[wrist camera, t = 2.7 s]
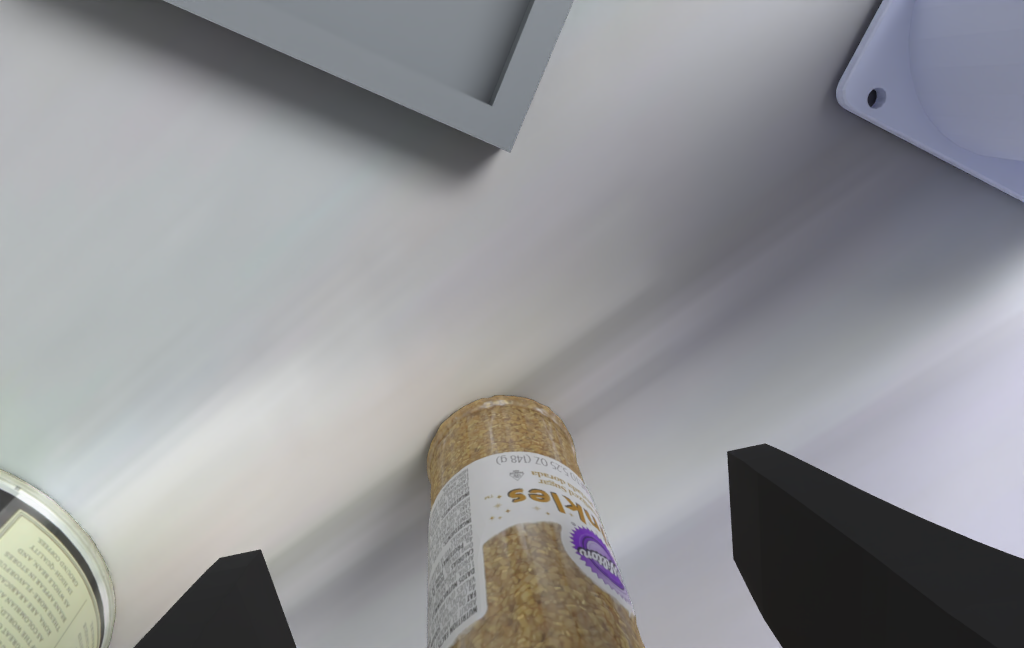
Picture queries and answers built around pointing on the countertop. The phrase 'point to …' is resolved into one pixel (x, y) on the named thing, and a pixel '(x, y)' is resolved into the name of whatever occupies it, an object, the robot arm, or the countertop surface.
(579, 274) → the countertop surface
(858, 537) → the robot arm
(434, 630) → the sprinkles bottle
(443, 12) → the tray
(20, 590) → the coffee can
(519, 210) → the countertop surface
